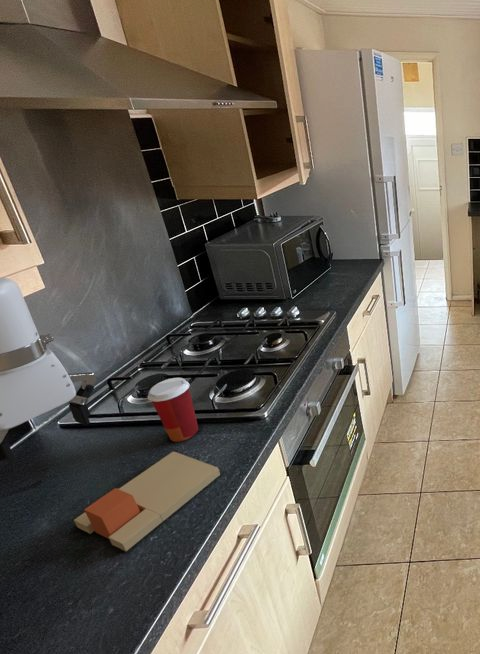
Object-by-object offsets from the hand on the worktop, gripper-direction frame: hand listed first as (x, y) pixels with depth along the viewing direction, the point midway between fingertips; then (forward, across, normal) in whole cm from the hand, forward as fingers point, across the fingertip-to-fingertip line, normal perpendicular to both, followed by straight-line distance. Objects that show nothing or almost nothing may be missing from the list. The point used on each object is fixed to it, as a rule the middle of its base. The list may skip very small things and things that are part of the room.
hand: (48, 440), depth 72 cm
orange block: (+21, -2, +5) cm, 21 cm away
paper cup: (+21, -23, -8) cm, 32 cm away
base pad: (+20, -8, +5) cm, 23 cm away
